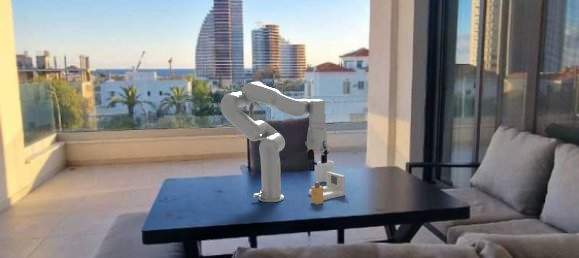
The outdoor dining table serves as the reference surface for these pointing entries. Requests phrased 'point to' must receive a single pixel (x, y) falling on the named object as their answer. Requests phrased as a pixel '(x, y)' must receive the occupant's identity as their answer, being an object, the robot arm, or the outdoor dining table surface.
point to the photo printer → (324, 170)
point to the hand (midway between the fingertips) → (317, 161)
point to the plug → (317, 193)
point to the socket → (333, 186)
